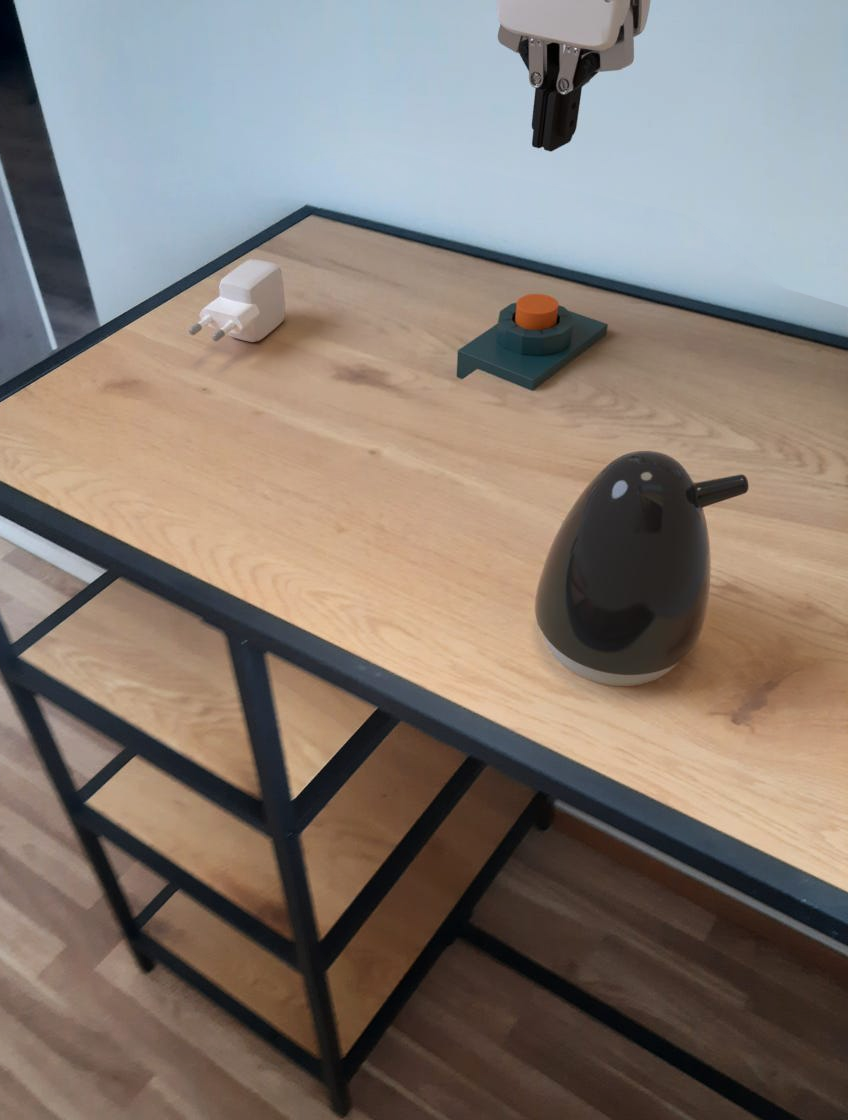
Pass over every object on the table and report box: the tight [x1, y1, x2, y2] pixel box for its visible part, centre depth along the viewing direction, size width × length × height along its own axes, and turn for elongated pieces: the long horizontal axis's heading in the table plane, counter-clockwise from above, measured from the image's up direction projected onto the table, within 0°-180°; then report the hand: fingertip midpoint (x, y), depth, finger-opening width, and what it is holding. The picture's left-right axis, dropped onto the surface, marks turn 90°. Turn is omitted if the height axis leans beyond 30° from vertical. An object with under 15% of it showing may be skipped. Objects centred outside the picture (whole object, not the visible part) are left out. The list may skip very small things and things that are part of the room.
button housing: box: [456, 302, 609, 392], centre depth 84 cm, size 12×8×4 cm, turn 139°
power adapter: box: [188, 258, 287, 343], centre depth 88 cm, size 11×5×6 cm, turn 151°
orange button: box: [515, 293, 560, 331], centre depth 82 cm, size 4×4×2 cm
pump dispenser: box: [534, 450, 750, 687], centre depth 55 cm, size 10×10×15 cm
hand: (551, 143), depth 72 cm, fingers closed
